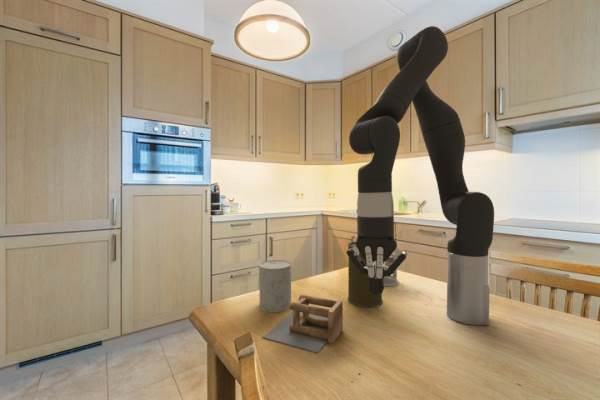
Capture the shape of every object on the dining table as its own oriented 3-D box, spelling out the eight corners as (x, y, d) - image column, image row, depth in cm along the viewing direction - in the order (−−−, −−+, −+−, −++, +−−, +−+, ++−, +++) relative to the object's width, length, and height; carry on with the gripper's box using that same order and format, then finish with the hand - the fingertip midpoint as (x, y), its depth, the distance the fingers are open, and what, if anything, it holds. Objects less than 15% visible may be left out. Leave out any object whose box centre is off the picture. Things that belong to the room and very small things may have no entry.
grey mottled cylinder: (296, 301, 85) (296, 262, 85) (282, 314, 76) (281, 270, 76) (270, 297, 89) (269, 259, 89) (252, 308, 80) (252, 266, 80)
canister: (386, 307, 80) (386, 238, 79) (350, 307, 80) (350, 239, 80) (377, 293, 91) (377, 232, 90) (345, 293, 91) (345, 233, 91)
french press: (404, 286, 98) (404, 215, 97) (371, 286, 98) (371, 215, 97) (394, 277, 108) (394, 213, 107) (364, 277, 107) (364, 213, 107)
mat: (342, 320, 72) (342, 320, 72) (318, 353, 58) (318, 352, 58) (294, 310, 79) (294, 310, 79) (262, 337, 64) (262, 336, 64)
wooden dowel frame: (342, 300, 67) (301, 293, 72) (332, 312, 61) (288, 303, 66) (342, 329, 68) (302, 320, 73) (332, 343, 61) (289, 332, 66)
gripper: (409, 212, 60) (411, 292, 60) (349, 212, 66) (351, 284, 66) (406, 215, 53) (408, 305, 54) (340, 215, 59) (342, 295, 59)
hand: (376, 293), depth 60 cm, fingers closed
